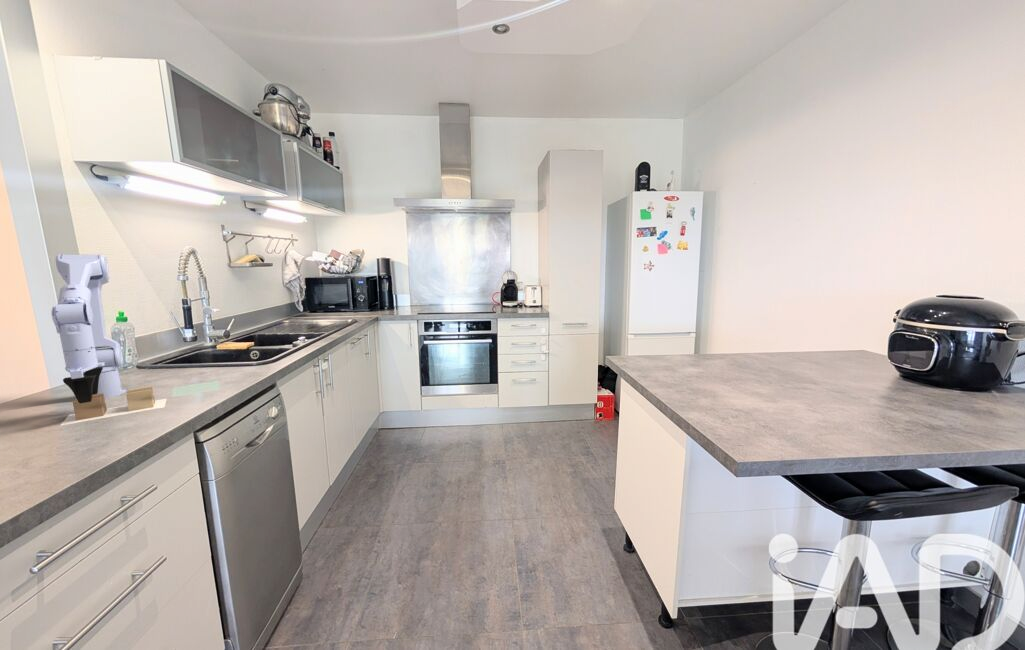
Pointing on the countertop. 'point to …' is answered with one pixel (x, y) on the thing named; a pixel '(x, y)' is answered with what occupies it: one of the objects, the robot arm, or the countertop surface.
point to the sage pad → (195, 388)
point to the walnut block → (90, 407)
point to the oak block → (140, 398)
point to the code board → (114, 412)
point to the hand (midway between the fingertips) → (88, 398)
